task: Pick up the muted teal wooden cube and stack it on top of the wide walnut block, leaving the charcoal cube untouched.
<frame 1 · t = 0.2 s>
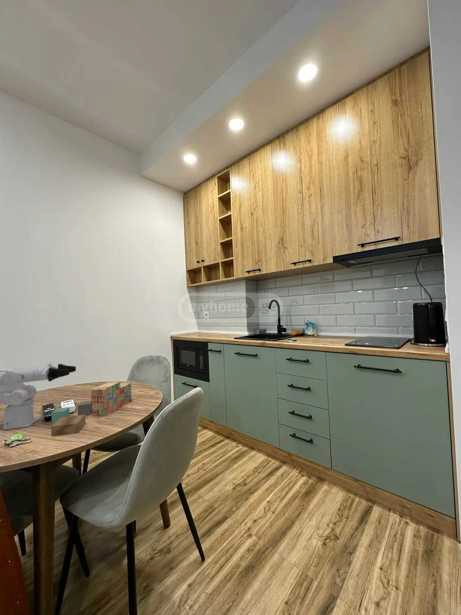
hand: (72, 370, 114), 21 cm above the table, tool horizontal, fingers open, 7 cm apart
charcoal cube: (85, 413, 118), on the table
walnut block: (69, 430, 101), on the table
stack of blocks: (113, 408, 124), on the table
teal cube: (61, 421, 110), on the table
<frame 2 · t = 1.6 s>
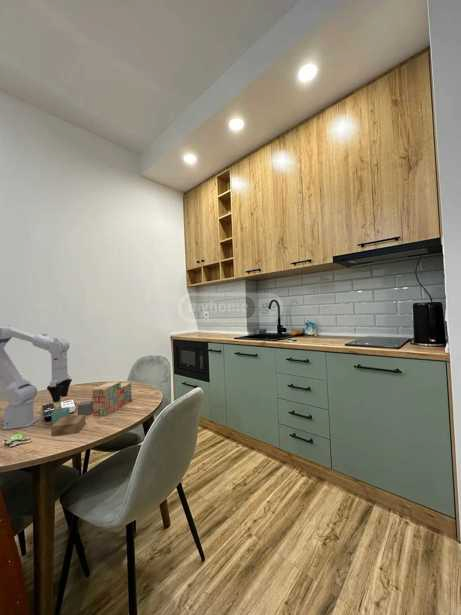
hand: (60, 399, 110), 9 cm above the table, tool pointing down, fingers open, 7 cm apart
nothing on the table moved.
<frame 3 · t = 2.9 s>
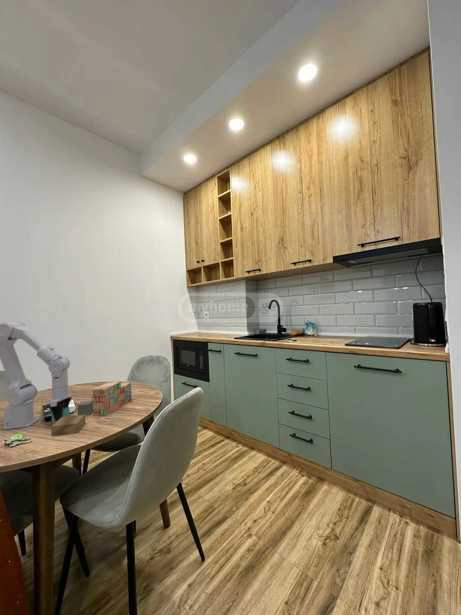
hand: (60, 417, 110), 1 cm above the table, tool pointing down, fingers closed on teal cube, 5 cm apart
teal cube: (61, 421, 110), on the table, touching gripper
everything else where it was.
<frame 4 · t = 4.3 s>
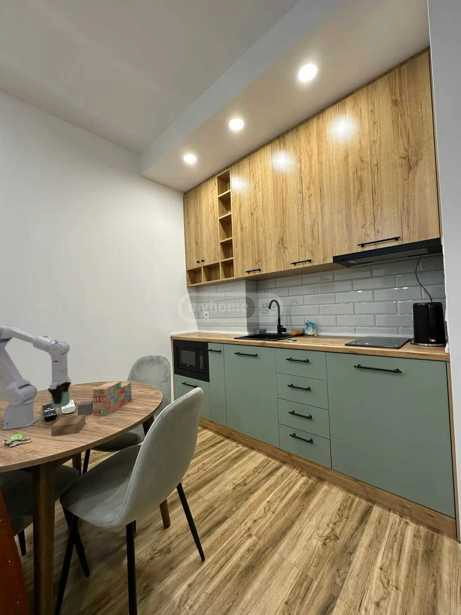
hand: (60, 401, 110), 8 cm above the table, tool pointing down, fingers closed on teal cube, 5 cm apart
teal cube: (60, 405, 110), point 7 cm above the table, touching gripper
everything else where it was.
when the fingers open (7 cm above the table, at t = 6.0 s): teal cube drops 1 cm, resting on walnut block.
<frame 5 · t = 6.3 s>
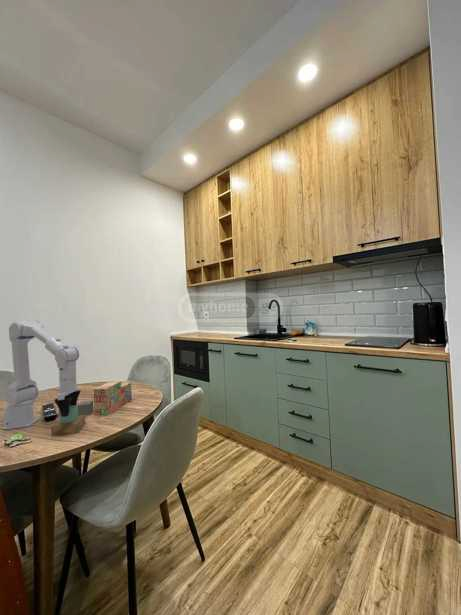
hand: (68, 412, 101), 7 cm above the table, tool pointing down, fingers open, 7 cm apart
walnut block: (69, 430, 101), on the table, touching teal cube
teal cube: (69, 420, 101), point 4 cm above the table, touching walnut block
everything else where it was.
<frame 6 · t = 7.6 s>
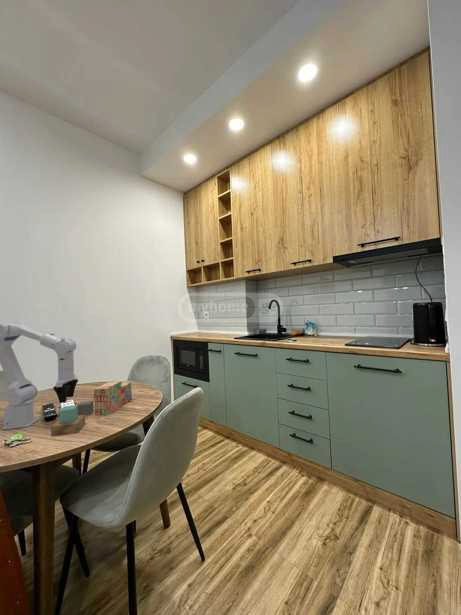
hand: (66, 399, 110), 9 cm above the table, tool pointing down, fingers open, 7 cm apart
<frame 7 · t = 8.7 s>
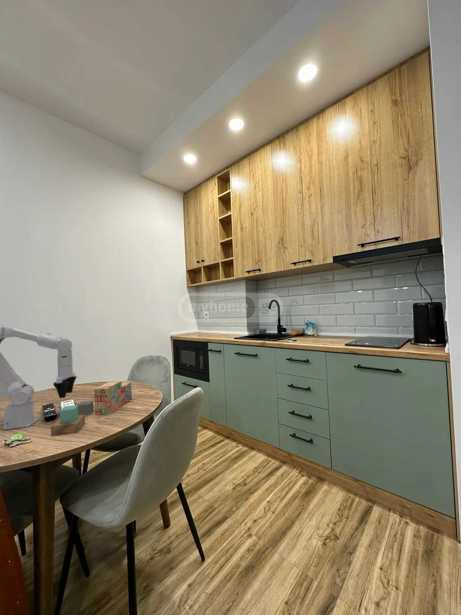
hand: (65, 395, 116), 9 cm above the table, tool pointing down, fingers open, 7 cm apart
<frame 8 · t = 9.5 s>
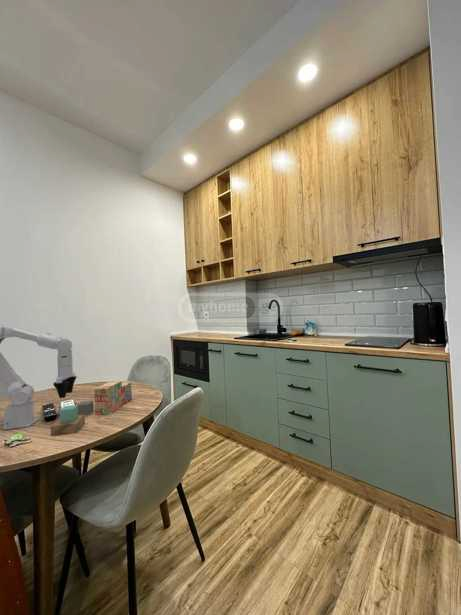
hand: (65, 395, 116), 9 cm above the table, tool pointing down, fingers open, 7 cm apart
walnut block: (68, 430, 101), on the table
teal cube: (69, 420, 101), point 4 cm above the table
at the end: teal cube 0.3 cm off-centre on the walnut block, point 4.0 cm above the walnut block's base; teal cube tilted 0°; the gripper is holding nothing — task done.
